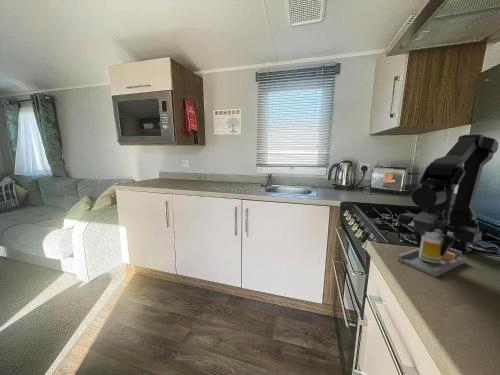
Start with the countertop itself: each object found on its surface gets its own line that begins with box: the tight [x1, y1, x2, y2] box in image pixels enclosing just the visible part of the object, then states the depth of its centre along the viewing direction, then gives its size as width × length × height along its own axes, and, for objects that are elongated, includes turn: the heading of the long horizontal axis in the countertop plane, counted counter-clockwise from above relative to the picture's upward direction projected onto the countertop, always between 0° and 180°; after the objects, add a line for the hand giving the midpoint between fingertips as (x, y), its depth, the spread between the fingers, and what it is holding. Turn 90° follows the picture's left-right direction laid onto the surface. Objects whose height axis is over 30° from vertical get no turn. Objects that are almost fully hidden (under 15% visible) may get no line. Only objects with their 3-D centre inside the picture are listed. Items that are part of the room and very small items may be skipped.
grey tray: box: [396, 247, 466, 278], centre depth 65 cm, size 18×10×3 cm, turn 116°
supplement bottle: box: [419, 229, 444, 263], centre depth 64 cm, size 5×5×10 cm
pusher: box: [441, 252, 455, 261], centre depth 68 cm, size 1×7×3 cm, turn 26°
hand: (430, 251), depth 65 cm, fingers closed on supplement bottle, 5 cm apart
